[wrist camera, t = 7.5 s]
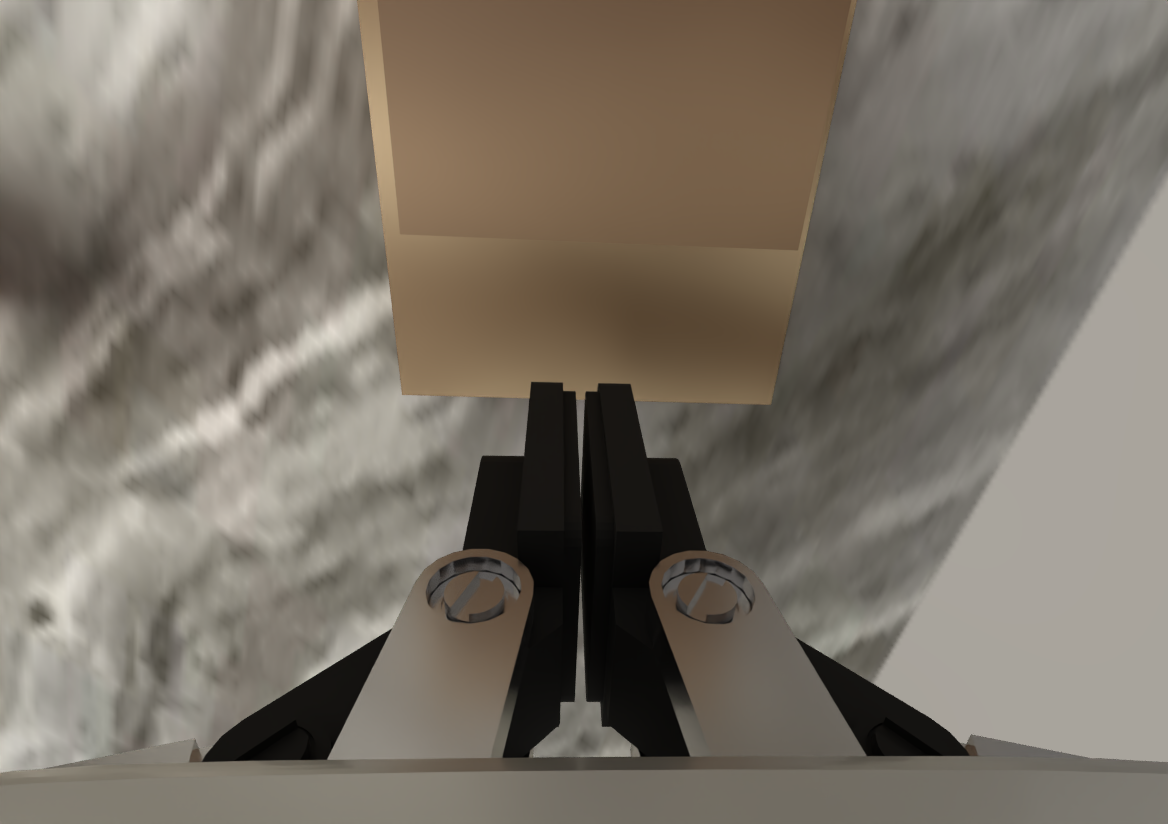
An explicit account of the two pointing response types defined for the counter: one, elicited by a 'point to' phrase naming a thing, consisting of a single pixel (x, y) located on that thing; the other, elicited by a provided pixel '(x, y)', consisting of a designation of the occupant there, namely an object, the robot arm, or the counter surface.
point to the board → (580, 300)
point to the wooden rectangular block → (609, 117)
